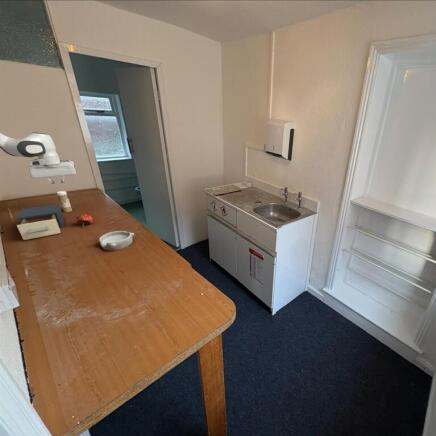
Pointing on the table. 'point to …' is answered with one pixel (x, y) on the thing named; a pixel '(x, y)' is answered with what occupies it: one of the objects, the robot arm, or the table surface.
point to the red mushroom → (84, 219)
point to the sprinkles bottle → (64, 201)
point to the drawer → (39, 226)
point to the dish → (116, 240)
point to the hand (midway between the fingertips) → (58, 183)
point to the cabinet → (42, 213)
